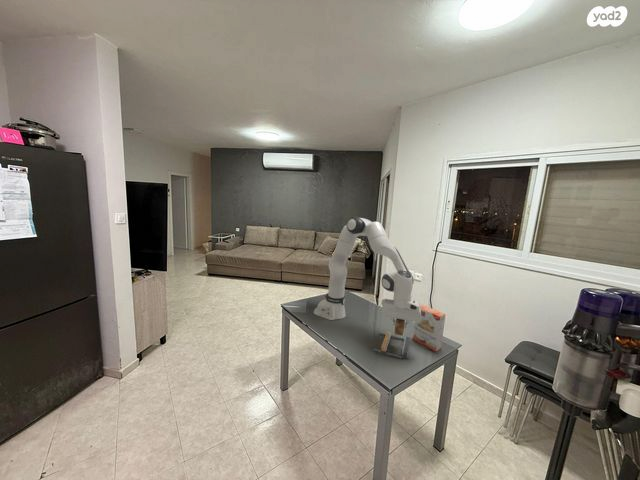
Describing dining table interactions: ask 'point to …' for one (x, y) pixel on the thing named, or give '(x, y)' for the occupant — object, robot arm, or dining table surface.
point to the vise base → (404, 351)
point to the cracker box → (430, 328)
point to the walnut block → (399, 326)
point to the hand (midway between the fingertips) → (399, 325)
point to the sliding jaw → (386, 342)
